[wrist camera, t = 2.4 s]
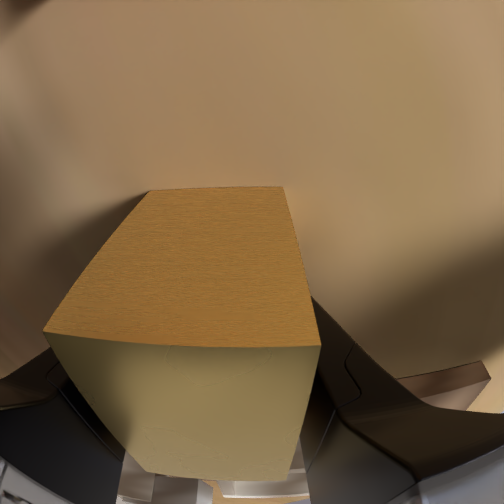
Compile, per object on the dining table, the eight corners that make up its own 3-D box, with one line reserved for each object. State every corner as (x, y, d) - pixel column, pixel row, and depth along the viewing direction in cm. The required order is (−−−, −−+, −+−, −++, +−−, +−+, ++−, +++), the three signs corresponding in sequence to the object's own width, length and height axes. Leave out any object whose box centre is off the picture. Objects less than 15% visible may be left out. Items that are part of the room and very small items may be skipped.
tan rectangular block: (149, 191, 9) (41, 330, 4) (282, 186, 9) (321, 345, 4) (177, 334, 12) (146, 471, 7) (276, 335, 12) (285, 480, 7)
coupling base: (481, 360, 14) (516, 431, 9) (413, 445, 20) (427, 497, 15) (88, 376, 14) (56, 461, 9) (146, 457, 20) (136, 513, 15)
